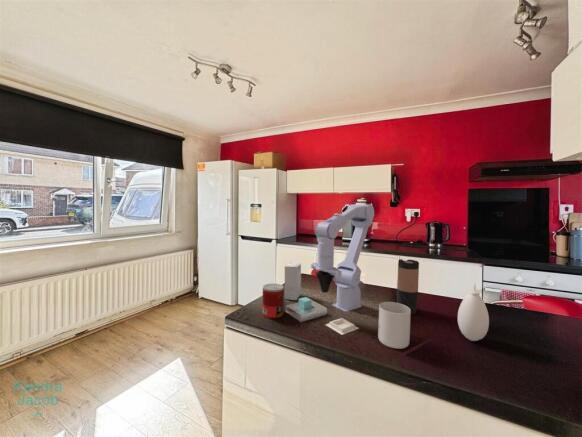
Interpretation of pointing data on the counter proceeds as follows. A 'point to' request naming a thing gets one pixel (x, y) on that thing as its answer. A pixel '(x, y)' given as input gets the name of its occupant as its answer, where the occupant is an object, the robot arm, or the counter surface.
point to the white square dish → (342, 326)
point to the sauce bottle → (473, 316)
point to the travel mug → (408, 283)
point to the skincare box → (292, 281)
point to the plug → (304, 303)
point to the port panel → (306, 311)
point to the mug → (394, 325)
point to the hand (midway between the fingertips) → (324, 291)
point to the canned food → (273, 300)
